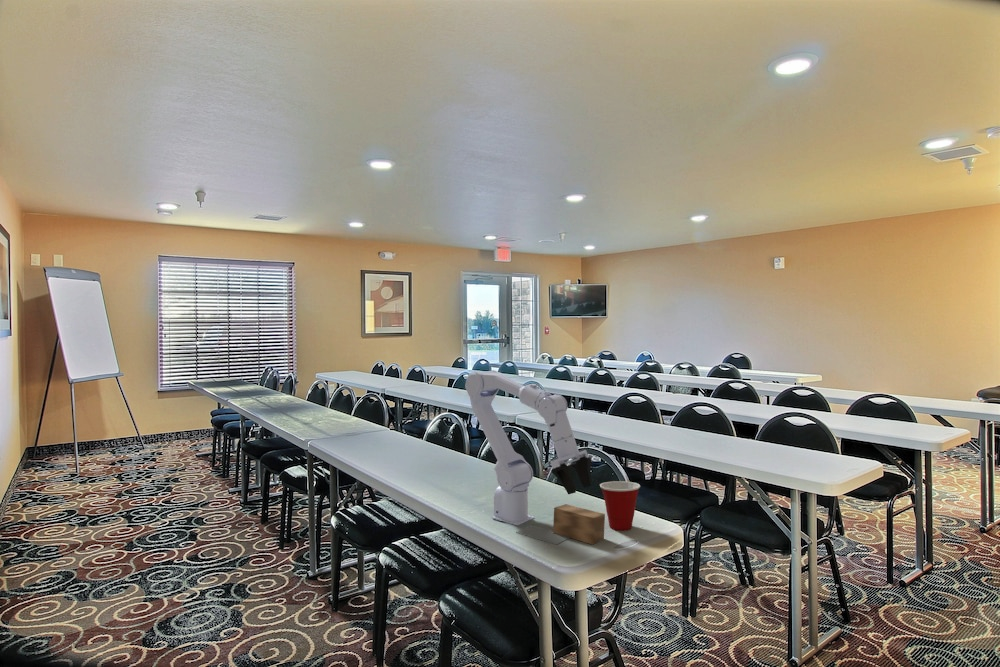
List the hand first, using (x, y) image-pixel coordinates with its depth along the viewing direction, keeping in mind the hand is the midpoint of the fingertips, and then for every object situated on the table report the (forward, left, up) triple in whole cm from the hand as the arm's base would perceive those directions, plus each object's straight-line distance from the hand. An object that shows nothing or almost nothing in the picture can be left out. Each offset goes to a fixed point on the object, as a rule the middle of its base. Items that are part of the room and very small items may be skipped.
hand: (580, 490), depth 144 cm
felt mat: (-8, -5, -12) cm, 16 cm away
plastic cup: (+4, +13, -13) cm, 19 cm away
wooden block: (-1, 0, -12) cm, 12 cm away
